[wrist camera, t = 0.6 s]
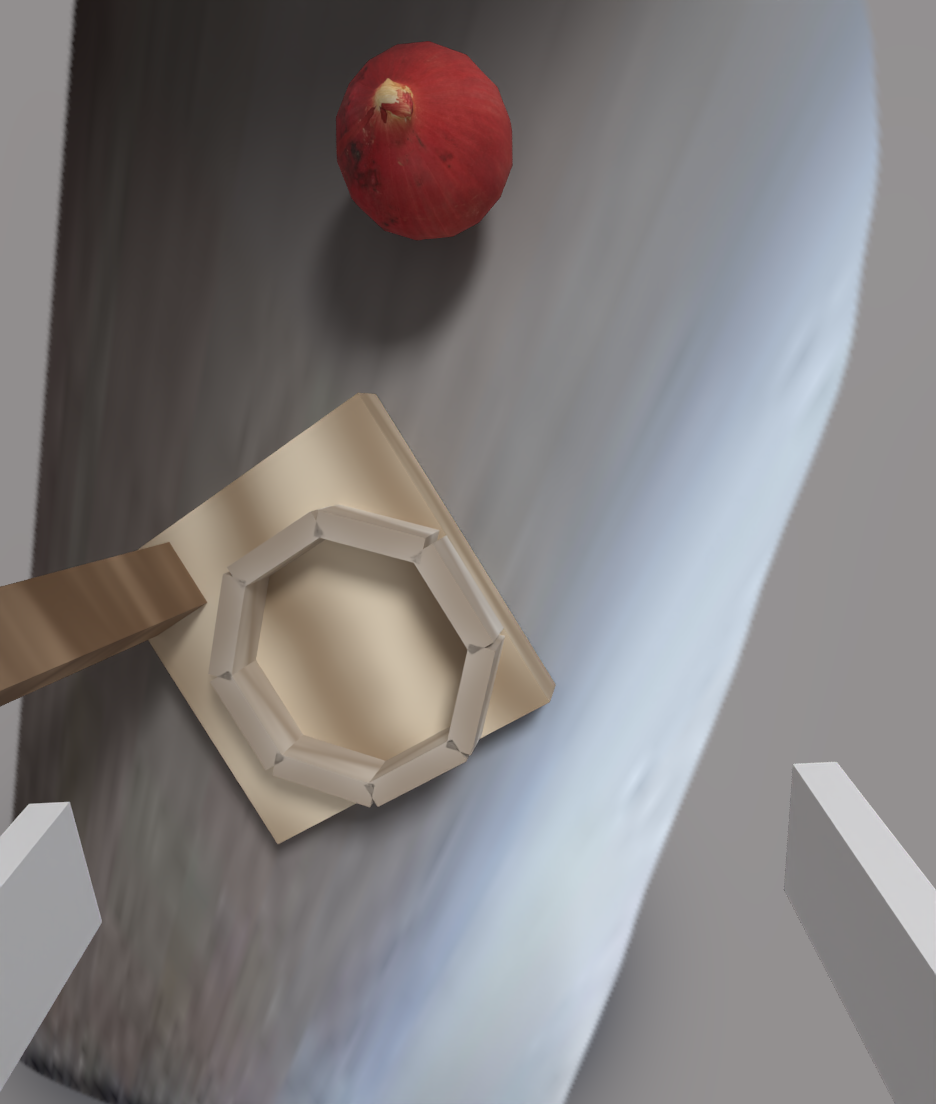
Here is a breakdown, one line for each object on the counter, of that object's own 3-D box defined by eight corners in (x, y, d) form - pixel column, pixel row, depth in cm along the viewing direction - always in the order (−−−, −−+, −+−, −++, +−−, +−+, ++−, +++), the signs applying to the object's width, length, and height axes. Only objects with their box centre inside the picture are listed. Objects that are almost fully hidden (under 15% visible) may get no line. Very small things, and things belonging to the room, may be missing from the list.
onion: (413, 284, 30) (334, 241, 23) (355, 144, 30) (255, 51, 22) (550, 215, 29) (515, 143, 21) (491, 65, 28) (434, -63, 21)
